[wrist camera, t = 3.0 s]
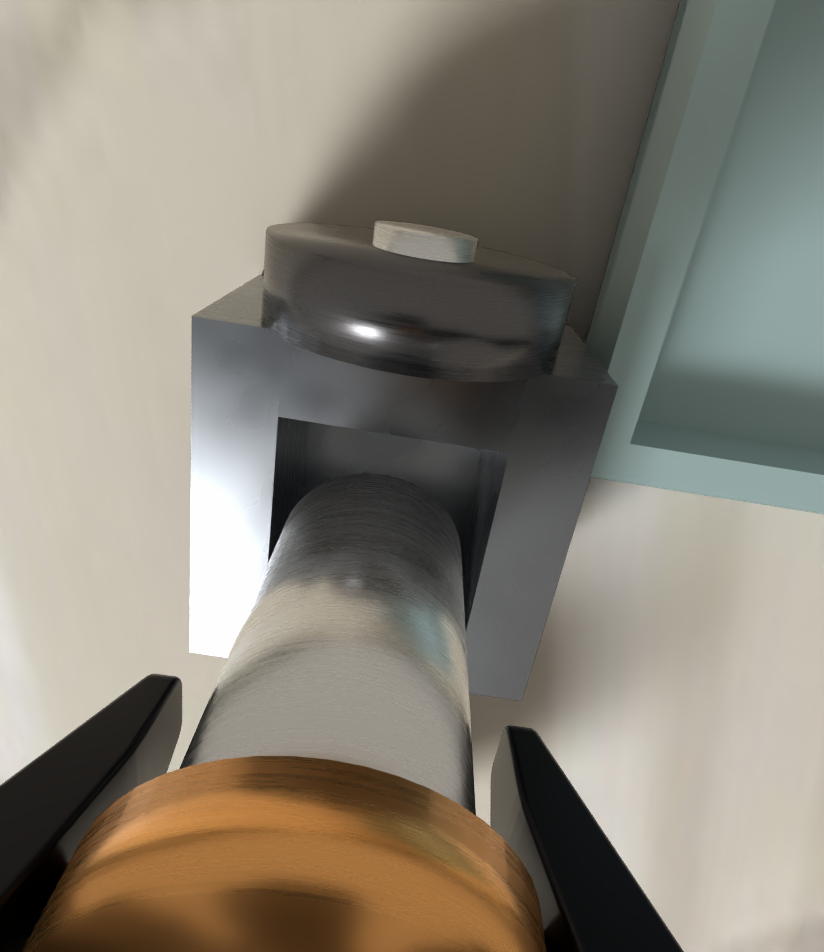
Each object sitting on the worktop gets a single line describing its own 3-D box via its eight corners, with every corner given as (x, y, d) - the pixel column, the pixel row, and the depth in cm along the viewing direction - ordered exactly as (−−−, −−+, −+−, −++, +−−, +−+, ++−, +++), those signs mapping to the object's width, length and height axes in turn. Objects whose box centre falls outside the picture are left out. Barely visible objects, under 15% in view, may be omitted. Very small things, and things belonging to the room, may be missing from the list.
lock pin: (515, 465, 12) (636, 945, 5) (466, 663, 14) (495, 1212, 7) (257, 424, 12) (-45, 853, 4) (246, 630, 14) (28, 1157, 7)
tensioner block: (591, 244, 16) (680, 291, 10) (503, 581, 20) (529, 752, 14) (265, 189, 16) (157, 203, 10) (246, 541, 20) (165, 699, 14)
